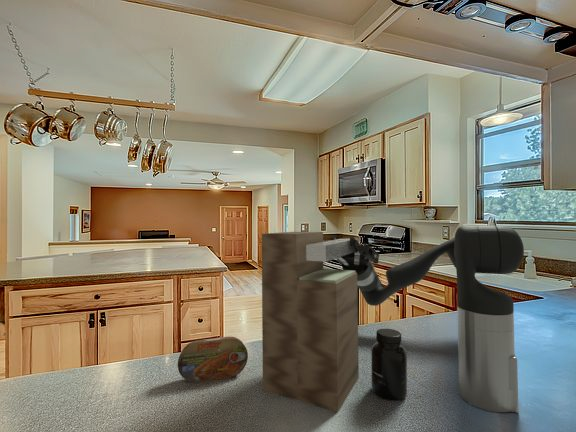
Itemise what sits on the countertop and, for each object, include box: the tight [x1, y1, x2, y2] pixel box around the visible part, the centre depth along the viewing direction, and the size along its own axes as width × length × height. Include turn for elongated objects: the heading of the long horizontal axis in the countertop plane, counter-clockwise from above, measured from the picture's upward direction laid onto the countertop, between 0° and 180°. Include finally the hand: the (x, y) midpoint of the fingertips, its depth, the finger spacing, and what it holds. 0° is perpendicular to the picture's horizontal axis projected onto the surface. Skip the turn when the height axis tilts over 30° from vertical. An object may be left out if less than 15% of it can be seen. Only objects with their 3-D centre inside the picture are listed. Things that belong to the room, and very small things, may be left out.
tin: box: [177, 336, 249, 383], centre depth 70 cm, size 15×3×8 cm, turn 105°
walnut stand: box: [261, 231, 360, 413], centre depth 66 cm, size 16×14×32 cm
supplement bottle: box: [370, 328, 408, 402], centre depth 63 cm, size 7×7×12 cm
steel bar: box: [306, 238, 359, 262], centre depth 69 cm, size 4×22×3 cm, turn 152°
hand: (341, 240), depth 73 cm, fingers closed on steel bar, 4 cm apart
